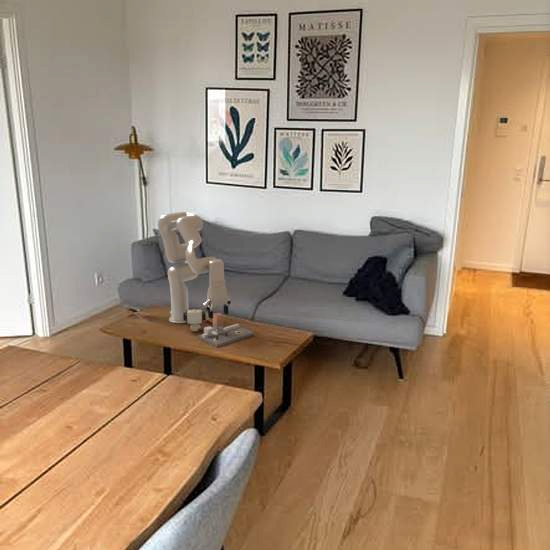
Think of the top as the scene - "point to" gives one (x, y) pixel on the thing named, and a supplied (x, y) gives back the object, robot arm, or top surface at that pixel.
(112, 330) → the top surface
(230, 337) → the plate
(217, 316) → the sliding leg
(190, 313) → the pneumatic valve
